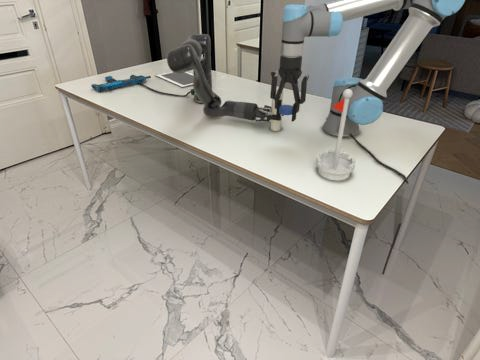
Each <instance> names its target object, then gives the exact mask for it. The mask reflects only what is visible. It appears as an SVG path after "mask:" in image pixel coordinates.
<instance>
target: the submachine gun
mask: <svg viewBox="0 0 480 360" xmlns="http://www.w3.org/2000/svg"><path fill="white" fill-rule="evenodd" d="M151 78H152V76H151V75H147V76H145V75H135V74H130V75H129V78H126V79H118V80H117V79H115V78H113V76H112V75H108V76H105V77H104V80H105V81H106V82H105V83H100V84H97V83H91V84H90V85H91V88H92V89H93V90H95V91H96V92H103V91H109V92H111V91H112V89H117V88H122V87H126V86H130V85H136V83H141V84H143V83H145V82H146V81H147V79H151Z"/></svg>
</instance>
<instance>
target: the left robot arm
mask: <svg viewBox="0 0 480 360" xmlns="http://www.w3.org/2000/svg"><path fill="white" fill-rule="evenodd" d="M211 44H212V42H211V37H210V35H209V34H207V33H206V34H205V33H194V34H190V35H189V36H188V38H187V39H186V40H184V41H183V42H182V43H181V44H180V45H178V46H177V47H175V48H172V49H170V50H169V51H168V52H167V55H166V63H167V66H168V67H169V69H170V71H171V72H174V73H176V74H181V73H184V72H190V71H192V74H194V82H193V85H192V88H191V89H190V91H188V92H187V93H186V94H183V95H180V94H175V93H168V92H163V91H158V90H155V89H153V88H151V87H148V86H147V85H145V84H143V83H136V84H137V85H140V86H142V87H143V88H146V89H148V90H150V91H152V92H155V93H158V94H161V95H165V96H166V95H167V96H172V97H173V96H174V97H180V98H184V97H188V95H189V94H190V95H191V96H193V98H194V101H195V102H196V103H198V104H204V106H203V109H202V112H203V114H204V116H206V117H207V118H210V119H211V118H212V119H215V118H216V119H217V118H222V117H223V118H224V117H231V118H237V119H241V120H246V121H255V122H267V123H268V122H269V123H270V121H271V120H278V121H280V120H281V116H280V117H279V118H276V115H274V114H273V115H272V114H271V108H272V105H265V104H264V106H263V107H262V106H261V107H259V106H258V104H257V103H255V102H246V101H234V100H225V101H224V103H223V104H222V97H220V95H218V94H217V93H216V92H214V91H213V79H212V78H213V77H212V56H211V55H212V54H211V51H212V48H211V47H212V45H211ZM202 55H203V57H201V56H202ZM136 84H135V85H136ZM284 116H285V115H282V117H284ZM281 121H282V120H281Z"/></svg>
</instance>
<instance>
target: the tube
mask: <svg viewBox="0 0 480 360" xmlns="http://www.w3.org/2000/svg"><path fill="white" fill-rule="evenodd" d="M278 88H279V86H277V88H276V94H277V91H278ZM279 100H282V103H281V105H284V90H283V91H282V94H281V97H280V99H279ZM271 107H272V108H271V114H272V115H273V114H274V115H276V111H277V109H275V100H274V99H271ZM282 118H283V116H282V114H281V120H280V121H278V120H270V131H273V132H279V131H281V129H282V120H283V119H282Z"/></svg>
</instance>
